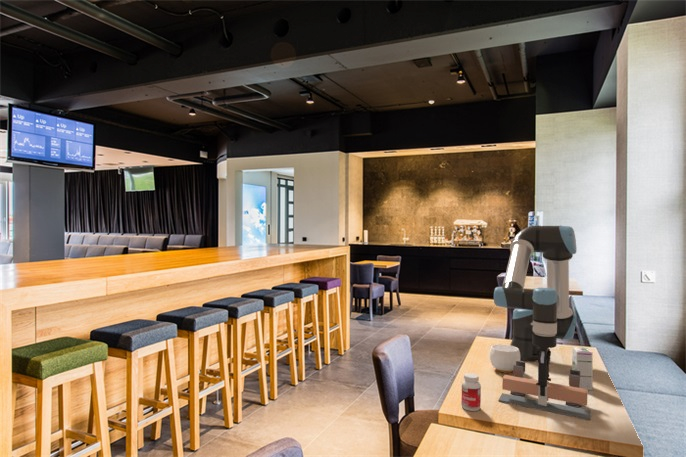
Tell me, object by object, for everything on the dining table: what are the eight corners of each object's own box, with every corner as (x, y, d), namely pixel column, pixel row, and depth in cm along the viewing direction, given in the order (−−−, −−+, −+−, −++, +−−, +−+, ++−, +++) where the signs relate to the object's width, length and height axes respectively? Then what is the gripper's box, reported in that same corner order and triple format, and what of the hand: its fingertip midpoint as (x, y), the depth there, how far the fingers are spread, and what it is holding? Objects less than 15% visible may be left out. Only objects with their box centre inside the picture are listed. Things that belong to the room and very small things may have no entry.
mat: (502, 394, 157) (502, 393, 157) (590, 412, 143) (590, 410, 143) (498, 401, 151) (498, 399, 151) (590, 420, 137) (590, 418, 137)
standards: (513, 388, 164) (513, 360, 164) (582, 401, 152) (583, 371, 152) (510, 394, 158) (510, 365, 158) (582, 408, 146) (582, 377, 146)
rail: (504, 385, 156) (504, 374, 156) (587, 401, 143) (587, 389, 143) (502, 389, 152) (502, 378, 152) (587, 405, 139) (587, 393, 139)
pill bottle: (458, 408, 145) (458, 375, 145) (466, 402, 150) (466, 370, 150) (476, 413, 141) (476, 379, 141) (483, 407, 146) (483, 375, 146)
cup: (488, 373, 181) (488, 350, 181) (490, 364, 192) (490, 342, 192) (520, 377, 176) (520, 353, 176) (520, 368, 188) (520, 345, 187)
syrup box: (593, 390, 163) (593, 351, 163) (576, 389, 164) (576, 350, 164) (587, 384, 168) (588, 347, 168) (571, 383, 169) (571, 346, 169)
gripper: (535, 327, 156) (534, 391, 157) (529, 337, 142) (528, 408, 142) (558, 330, 153) (557, 396, 153) (554, 341, 138) (553, 414, 138)
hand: (543, 402), depth 147 cm, fingers closed on rail, 4 cm apart
